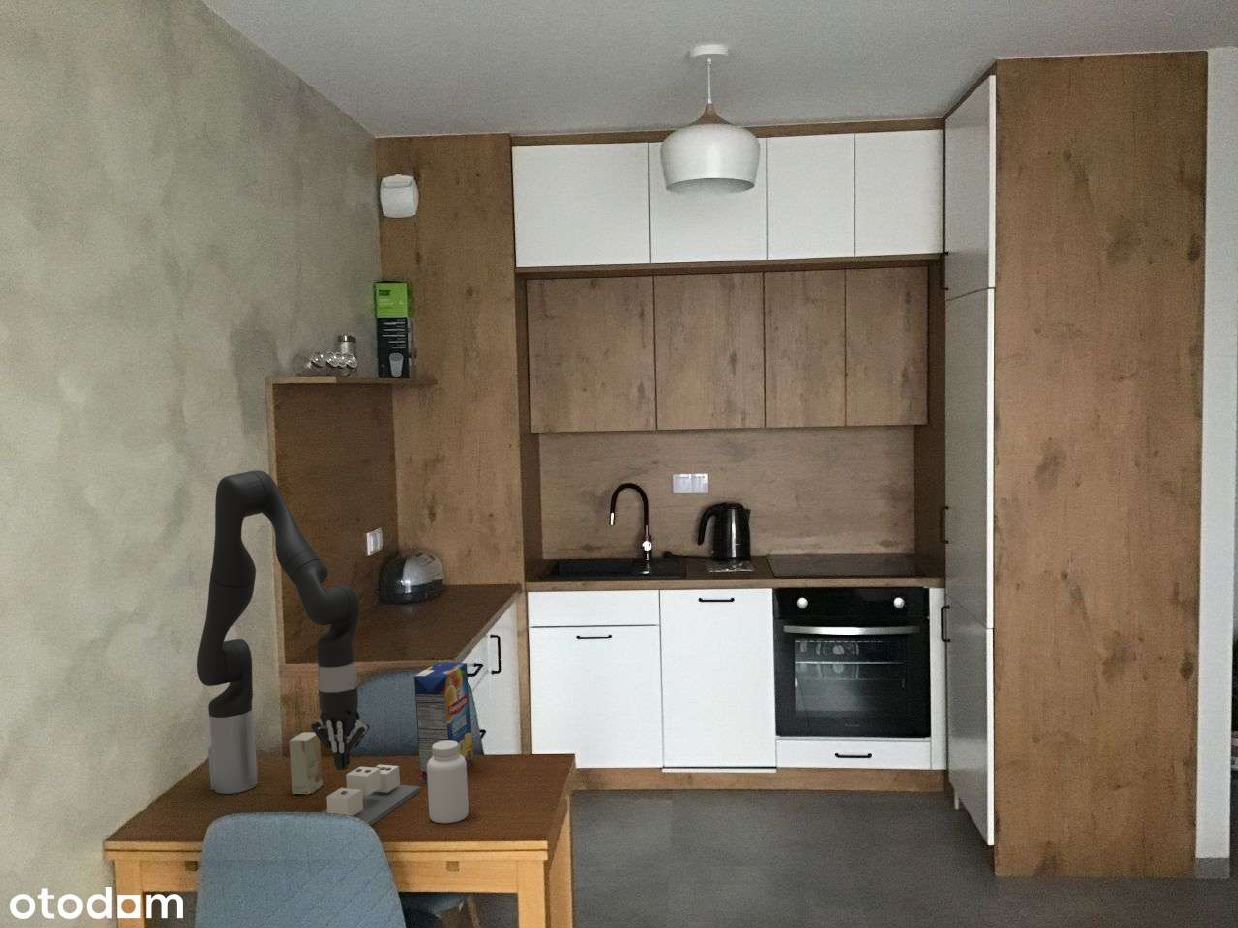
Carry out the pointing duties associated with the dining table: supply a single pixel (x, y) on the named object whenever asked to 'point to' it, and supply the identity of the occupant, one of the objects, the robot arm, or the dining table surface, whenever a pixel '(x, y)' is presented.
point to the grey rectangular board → (384, 802)
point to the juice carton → (443, 711)
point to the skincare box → (306, 763)
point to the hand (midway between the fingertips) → (342, 768)
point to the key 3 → (388, 777)
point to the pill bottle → (447, 783)
